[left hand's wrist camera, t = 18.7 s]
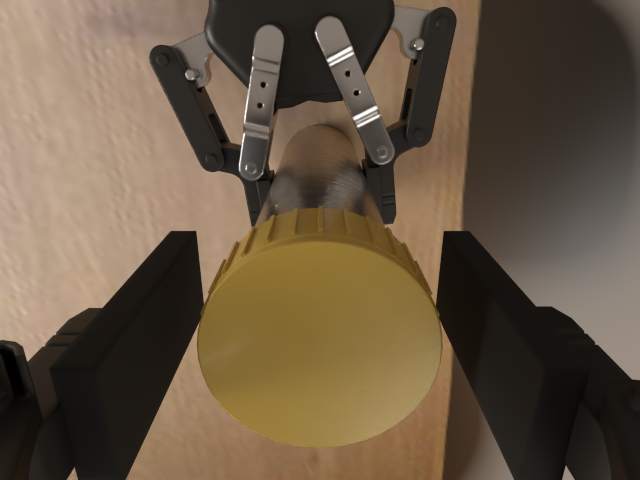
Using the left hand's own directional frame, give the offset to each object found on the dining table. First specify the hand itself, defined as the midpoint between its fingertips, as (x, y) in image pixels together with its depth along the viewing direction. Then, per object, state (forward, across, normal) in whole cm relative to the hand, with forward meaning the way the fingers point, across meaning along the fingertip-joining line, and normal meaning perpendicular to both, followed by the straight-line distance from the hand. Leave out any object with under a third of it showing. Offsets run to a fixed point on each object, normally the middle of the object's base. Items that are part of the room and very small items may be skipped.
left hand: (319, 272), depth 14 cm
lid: (-4, 0, 0) cm, 4 cm away
